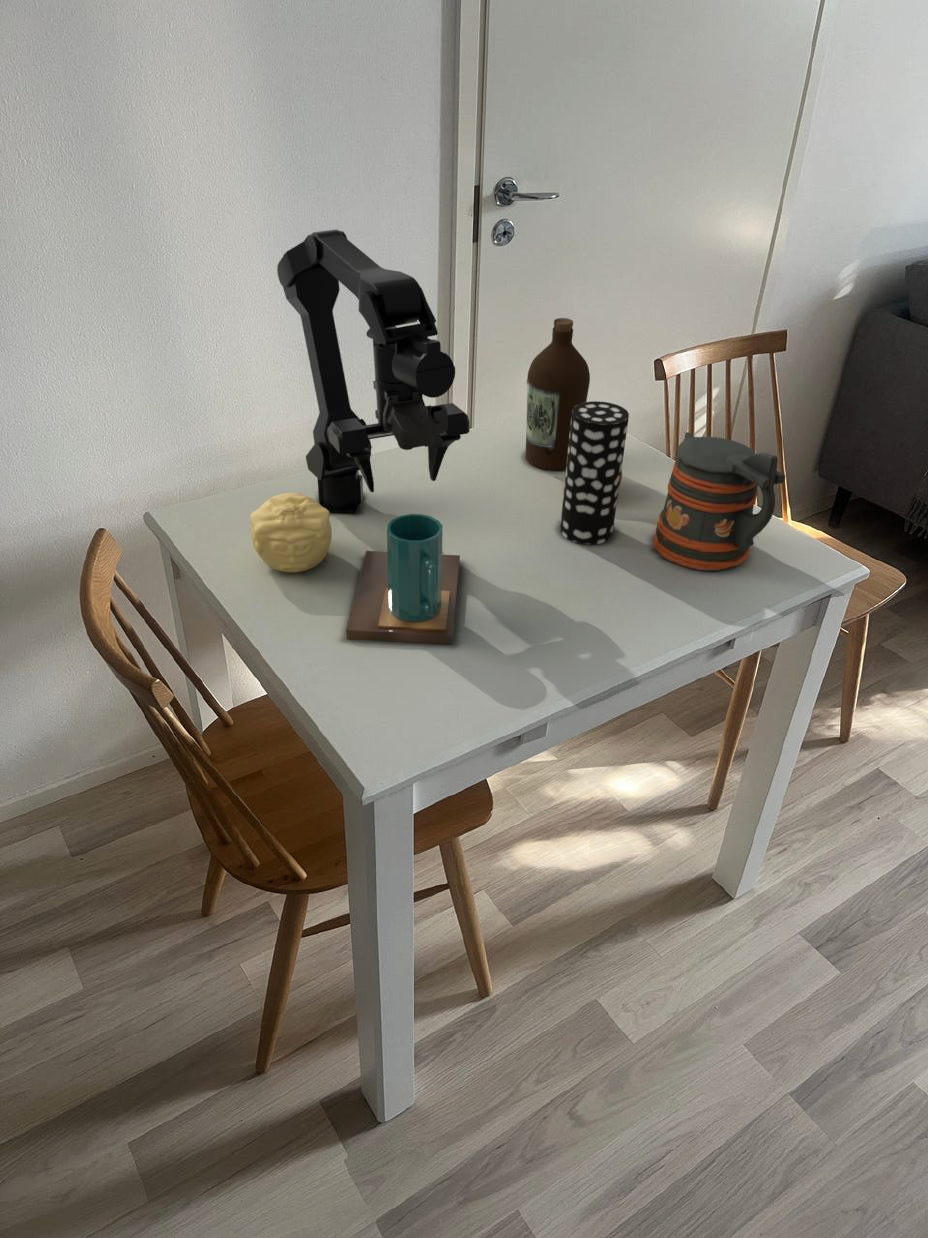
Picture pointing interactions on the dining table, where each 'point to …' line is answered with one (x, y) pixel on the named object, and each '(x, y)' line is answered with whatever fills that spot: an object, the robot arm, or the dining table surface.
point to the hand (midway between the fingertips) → (402, 485)
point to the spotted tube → (593, 471)
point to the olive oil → (554, 398)
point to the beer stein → (715, 503)
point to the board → (373, 608)
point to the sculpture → (291, 532)
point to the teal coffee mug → (414, 567)
